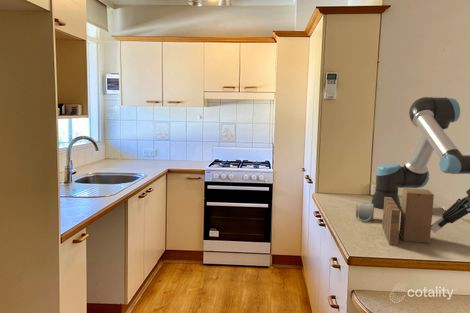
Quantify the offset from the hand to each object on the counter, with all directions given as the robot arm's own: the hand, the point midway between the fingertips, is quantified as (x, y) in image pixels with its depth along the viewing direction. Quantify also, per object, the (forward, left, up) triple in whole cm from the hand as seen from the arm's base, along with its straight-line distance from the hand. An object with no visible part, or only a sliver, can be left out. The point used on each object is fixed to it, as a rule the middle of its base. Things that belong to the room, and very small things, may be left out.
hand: (431, 230), depth 158 cm
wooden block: (+4, -5, -5) cm, 8 cm away
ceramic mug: (+1, -33, -5) cm, 34 cm away
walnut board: (+11, -12, -4) cm, 17 cm away
